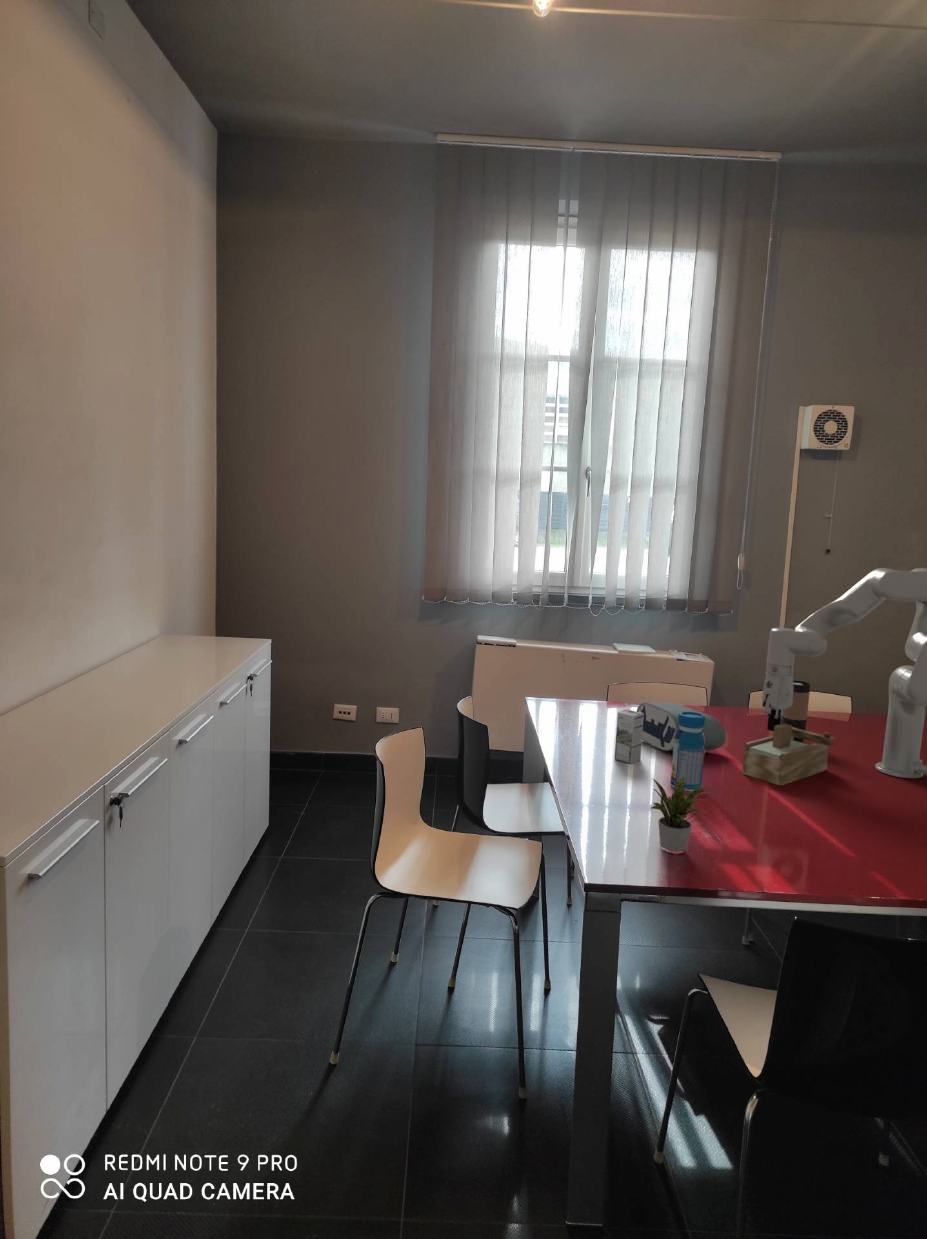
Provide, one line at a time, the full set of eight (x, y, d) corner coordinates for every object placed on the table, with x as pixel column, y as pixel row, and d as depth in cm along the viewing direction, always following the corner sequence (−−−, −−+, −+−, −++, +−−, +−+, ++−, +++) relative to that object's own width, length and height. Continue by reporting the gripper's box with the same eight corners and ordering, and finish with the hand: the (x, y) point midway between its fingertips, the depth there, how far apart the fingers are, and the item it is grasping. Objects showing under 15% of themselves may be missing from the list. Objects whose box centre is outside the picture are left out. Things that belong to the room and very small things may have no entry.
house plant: (720, 866, 180) (727, 792, 177) (655, 866, 178) (662, 790, 176) (696, 839, 194) (703, 769, 191) (636, 838, 192) (642, 768, 190)
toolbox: (826, 770, 250) (829, 740, 249) (781, 785, 234) (784, 754, 233) (788, 759, 259) (791, 730, 258) (742, 773, 243) (745, 742, 242)
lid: (812, 749, 246) (814, 725, 245) (778, 759, 234) (781, 734, 233) (782, 741, 253) (785, 717, 252) (748, 751, 241) (751, 726, 240)
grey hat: (632, 737, 274) (637, 698, 273) (681, 736, 282) (686, 698, 280) (673, 758, 254) (678, 716, 253) (725, 756, 262) (730, 715, 260)
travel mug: (806, 747, 273) (812, 686, 270) (780, 745, 274) (787, 684, 272) (801, 741, 280) (808, 681, 278) (777, 738, 282) (783, 679, 279)
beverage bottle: (686, 794, 223) (692, 719, 221) (662, 784, 231) (668, 712, 228) (708, 789, 228) (715, 716, 225) (685, 780, 235) (691, 709, 232)
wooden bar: (833, 744, 244) (834, 733, 244) (829, 745, 243) (830, 735, 242) (775, 729, 258) (776, 719, 257) (771, 730, 256) (772, 720, 256)
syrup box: (641, 760, 251) (644, 712, 249) (630, 764, 246) (634, 715, 244) (624, 755, 255) (628, 708, 253) (613, 759, 250) (617, 711, 248)
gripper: (777, 675, 244) (771, 737, 246) (804, 669, 253) (798, 730, 256) (754, 670, 249) (748, 731, 252) (781, 665, 259) (775, 724, 261)
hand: (773, 730), depth 254 cm, fingers closed
